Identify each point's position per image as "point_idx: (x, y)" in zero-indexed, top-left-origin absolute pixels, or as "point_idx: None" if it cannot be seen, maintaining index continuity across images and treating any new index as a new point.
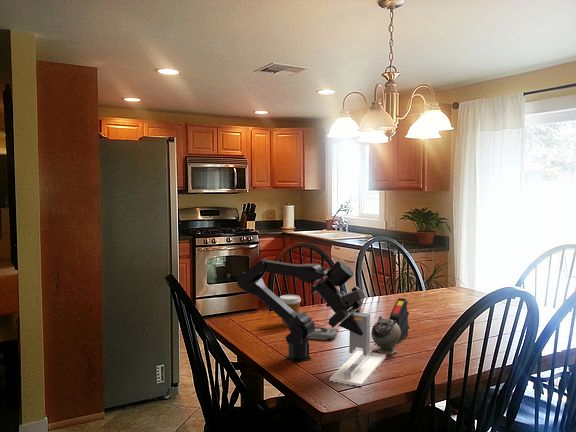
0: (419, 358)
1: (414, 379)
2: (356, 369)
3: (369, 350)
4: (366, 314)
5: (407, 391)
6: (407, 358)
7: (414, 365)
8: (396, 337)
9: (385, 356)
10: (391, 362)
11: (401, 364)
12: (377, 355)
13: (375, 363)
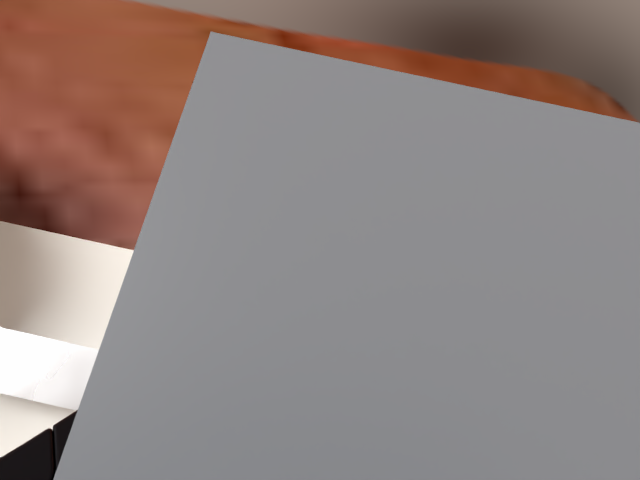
0: (14, 9)
1: (412, 56)
2: None
3: (4, 353)
4: (318, 178)
5: (609, 98)
6: (19, 80)
7: (162, 44)
8: None
9: (10, 226)
10: (120, 185)
11: (154, 120)
12: (20, 287)
13: None
